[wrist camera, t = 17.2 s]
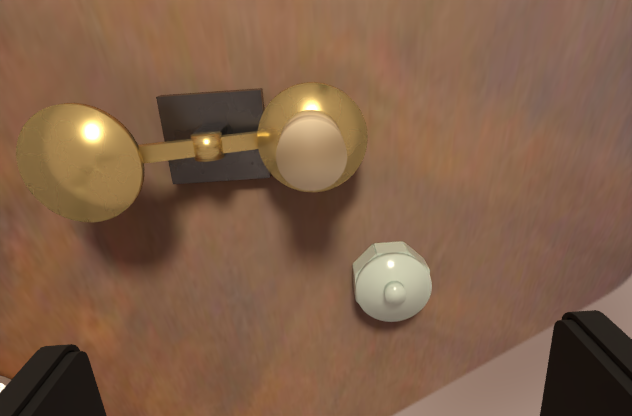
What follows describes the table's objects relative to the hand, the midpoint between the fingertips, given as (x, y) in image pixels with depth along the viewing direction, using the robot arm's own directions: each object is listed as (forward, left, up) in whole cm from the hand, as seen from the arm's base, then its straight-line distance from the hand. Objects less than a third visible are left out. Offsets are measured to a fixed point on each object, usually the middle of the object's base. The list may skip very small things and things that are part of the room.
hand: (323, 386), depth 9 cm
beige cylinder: (0, 0, -24) cm, 24 cm away
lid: (-14, -6, -28) cm, 32 cm away
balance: (0, +8, -28) cm, 29 cm away
